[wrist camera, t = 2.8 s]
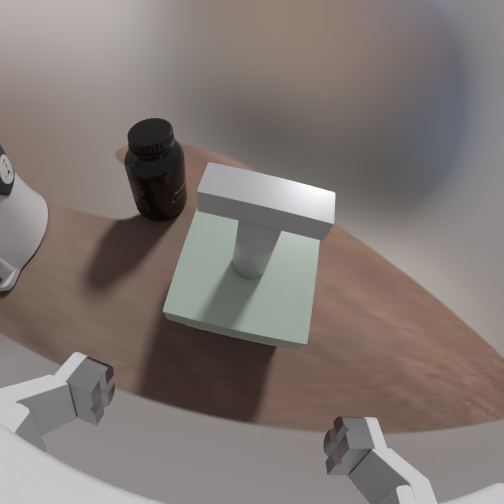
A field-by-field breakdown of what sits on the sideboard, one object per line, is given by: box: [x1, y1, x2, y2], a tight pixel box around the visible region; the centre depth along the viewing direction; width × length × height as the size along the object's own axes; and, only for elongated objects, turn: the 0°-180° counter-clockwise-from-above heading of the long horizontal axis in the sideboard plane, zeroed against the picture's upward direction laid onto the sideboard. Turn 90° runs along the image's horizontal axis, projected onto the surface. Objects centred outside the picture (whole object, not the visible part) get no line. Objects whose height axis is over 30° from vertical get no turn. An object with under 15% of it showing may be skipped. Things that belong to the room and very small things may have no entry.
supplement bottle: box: [124, 118, 187, 221], centre depth 32 cm, size 7×7×12 cm
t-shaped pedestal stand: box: [163, 162, 335, 349], centre depth 23 cm, size 12×12×13 cm
